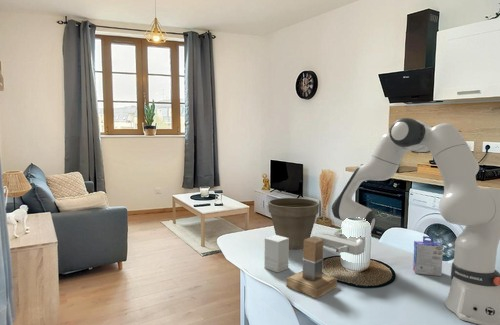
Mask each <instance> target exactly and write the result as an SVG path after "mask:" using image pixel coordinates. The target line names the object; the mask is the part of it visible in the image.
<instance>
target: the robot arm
mask: <svg viewBox="0 0 500 325" xmlns="http://www.w3.org/2000/svg"><path fill="white" fill-rule="evenodd" d="M408 152H411V153H413V154H414V153H417V154H429V153H430V154H431V156H432V159H433V160H434V162H435V164H436V166H437V167H436V168H437V169H438V170H439V174H440V175H441V178H442V183H443V194H442V196H441V198H440V199H439V202H438V206H439V207H438V209H439V212H440V215H441V217H442V218H443V220H444V221H446V222H448V223H450V224H453V225H458V226H463V227H464V226H465V227H464V230H462V231H461V233H460V234H459V235H458V236H457V237H456V239H455V242H454V253H453V255H454V256H453V262H452V263H451V267H450V268H451V269H450V276H451V277H450V279H451V282H450V288H449V290H448V291H449V292H448V295H447V297H446V299H445V301H444V304H445V307H446V308H447V309H448V310H450V311H451V312H453V314H455V315H456V316H457V317H458V319H460V320H462V321H466V322H467V323H473V324H476V325H500V272H499V271H498V270H496V263H497V262H496V261H497V254H498V253H497V252H498V247H499V243H500V189H499V188H494V187H492V188H491V187H490V188H489V187H488V188H487V187H486V188H480V187H479V186H478V183H477V178H476V176H477V174H478V172H479V171H480V165H479V163H478V161H477V158H476V157H475V155H474V153H473V151H472V150H471V147H470V146H469V144H468V143H467V141H466V140H465V138H464V136H463V135H462V134H461V133H460V132H459V130H458V129H457V128H456V127H455V126H454V125H453V124H452V123H447V122H444V123H443V122H442V123H439V124H436V125H435V126H432V125H430V124H427V123H425V122H423V121H421V120H418V119H414V118H408V117H404V118H399V119H397V120H395V121H394V122H393V123H392V124H391V126H390V128H389V131H388V132H385V133H384V134H382V136H381V138H380V139H379V140H378V141H377V144H376V145H375V147H374V149H373V151H372V154H371V156H370V158H369V159H368V160H367V161H366V162H365V163H362V164H359V166H357V168H355V170H354V171H353V173H352V174H351V176H350V177H349V179H348V181H347V183H346V184H345V186H344V187H343V189H342V190H341V192H340V193H339V195H338V196H337V198H336V199H335V200H334V202H333V203H332V205H331V212H332V214H333V217H334V218H336V219H338V220H339V221H342V222H344V220H345V219H346V218H348V217H349V218H350V217H351V218H356V217H357V218H358V217H360V218H361V219H363V218H364V220H365V219H366V221H368V222H369V223H370V225H371V233H372V232H373V231H374V229H375V227H376V225H377V224H376V223H377V216H376V213H375V210H372V209H371V208H369V207H366V205H363V204H360V203H359V202H357V201H354V200H353V196H354V195H355V193H356V191H357V190H358V189H359V187H360V185H361V184H362V183H363V182H365V181H381V182H382V181H387V180H389V179H391V178H393V177H394V176H395V175H396V173H397V171H398V169H399V167H400V165H401V162H402V159H403V157H404V156H405V154H407V153H408ZM339 229H340V228H339ZM339 229H337V230H335V232H334V233H329V232H317V233H316V232H315V233H313V234H311V237H314V238H318V239H321V240H323V247H325V248H329V249H333V250H335V252H336V253H337V254H341V253H346V254H350V255H354V256H360V255H361V254H363V253H364V252H365V247H366V241H365V237H361V236H360V237H358V238H356V237H351V236H350V237H349V238H347V237H346V236H345V235H344V234H342V229H340V230H339Z"/></svg>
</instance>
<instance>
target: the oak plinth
mask: <svg viewBox="0 0 500 325" xmlns="http://www.w3.org/2000/svg"><path fill="white" fill-rule="evenodd" d="M302 276H303V270H301V271H300V272H299V271H298V273H295V274H293V275H291V276H288V277H286V281H285V282H286V285H285V286H286V287H287V288H290V289H293V290H295V291H298V292H300V293H303V294H305V295H307V296H309V297H312V298H315V299H319V298H320V297H321V296H325V294H327V293H329V292H330V291H332V290H333V289H335V288H337V287H338V278H336V277H334V276H331V275H328V274H324V273H322V278H321V279H319V280H317V281H315V282H313V281H310V280H308V279H305V278H302Z"/></svg>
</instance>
